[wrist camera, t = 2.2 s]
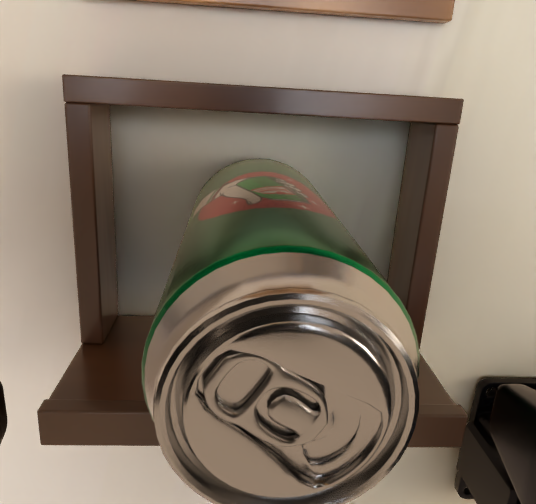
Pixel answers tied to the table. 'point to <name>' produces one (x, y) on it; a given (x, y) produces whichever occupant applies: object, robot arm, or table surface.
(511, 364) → the table surface
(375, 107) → the spice rack
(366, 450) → the soda can
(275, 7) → the cork trivet
